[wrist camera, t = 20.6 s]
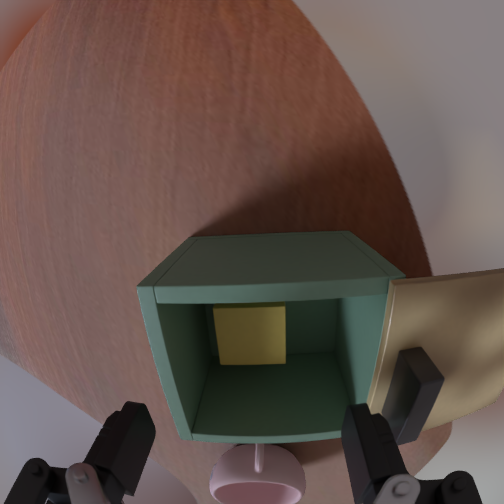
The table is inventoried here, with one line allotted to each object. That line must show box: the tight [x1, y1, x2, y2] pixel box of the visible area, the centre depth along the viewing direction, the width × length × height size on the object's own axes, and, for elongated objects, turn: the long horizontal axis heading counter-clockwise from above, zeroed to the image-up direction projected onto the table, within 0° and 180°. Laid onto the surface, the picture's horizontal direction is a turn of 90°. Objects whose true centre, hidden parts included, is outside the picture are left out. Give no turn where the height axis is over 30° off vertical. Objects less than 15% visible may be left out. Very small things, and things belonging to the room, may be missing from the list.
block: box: [213, 301, 286, 365], centre depth 18 cm, size 4×4×4 cm
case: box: [137, 231, 406, 443], centre depth 16 cm, size 10×11×9 cm
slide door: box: [366, 268, 504, 446], centre depth 10 cm, size 10×11×3 cm
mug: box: [209, 443, 306, 504], centre depth 23 cm, size 12×10×6 cm
